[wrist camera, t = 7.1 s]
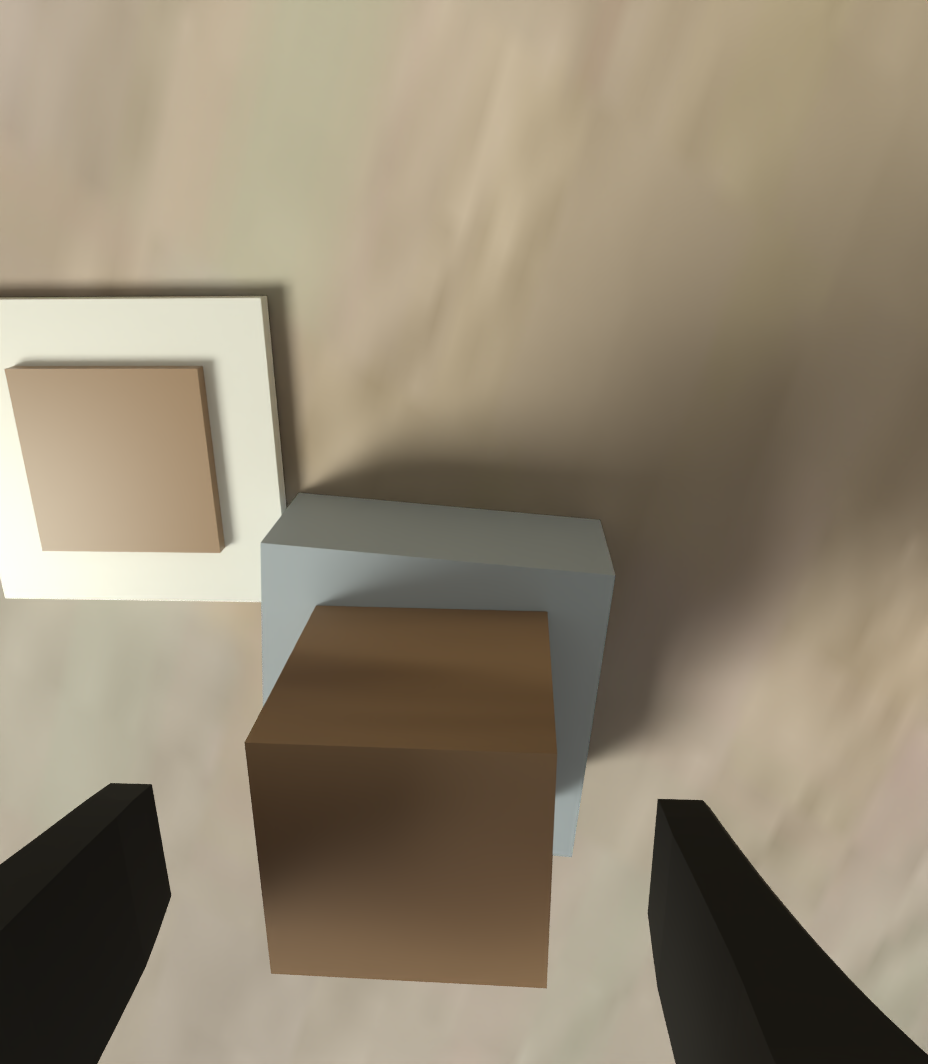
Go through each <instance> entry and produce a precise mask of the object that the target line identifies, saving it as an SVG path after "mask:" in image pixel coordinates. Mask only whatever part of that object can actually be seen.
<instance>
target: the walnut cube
mask: <svg viewBox="0 0 928 1064" xmlns="http://www.w3.org/2000/svg"><path fill="white" fill-rule="evenodd" d="M245 750H246V758H247V767H248V776H249V784H250V793H251V802H252V810H253V819H254V828H255V837H256V845H257V854H258V863H259V871H260V880H261V889H262V897H263V906H264V915H265V923H266V932H267V941H268V950H269V958H270V967H271V974H289V975H308V976H327V977H346V978H365V979H383V980H402V981H421V982H440V983H459V984H477V985H496V986H515V987H534V988H547V967H548V945H549V923H550V902H551V880H552V858H553V836H554V814H555V792H556V770H557V743H556V729H555V714H554V699H553V685H552V670H551V656H550V641H549V627H548V612H546V611H508V610H469V609H431V608H393V607H355V606H317V605H316V606H315V608H314V610H313V612H312V614H311V616H310V618H309V620H308V622H307V624H306V626H305V628H304V629H303V631H302V633H301V635H300V637H299V639H298V641H297V643H296V645H295V647H294V649H293V651H292V653H291V654H290V656H289V658H288V660H287V662H286V664H285V666H284V668H283V670H282V672H281V674H280V676H279V678H278V679H277V681H276V683H275V685H274V687H273V689H272V691H271V693H270V695H269V697H268V699H267V701H266V703H265V704H264V706H263V708H262V710H261V712H260V714H259V716H258V718H257V720H256V722H255V724H254V726H253V728H252V729H251V731H250V733H249V735H248V737H247V739H246V741H245Z"/></svg>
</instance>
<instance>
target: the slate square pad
mask: <svg viewBox="0 0 928 1064" xmlns="http://www.w3.org/2000/svg"><path fill="white" fill-rule="evenodd" d="M260 547H261V610H262V672H263V706H264V704H265V703H266V701H267V699H268V697H269V695H270V693H271V691H272V689H273V687H274V685H275V683H276V681H277V679H278V678H279V676H280V674H281V672H282V670H283V668H284V666H285V664H286V662H287V660H288V658H289V656H290V654H291V653H292V651H293V649H294V647H295V645H296V643H297V641H298V639H299V637H300V635H301V633H302V631H303V629H304V628H305V626H306V624H307V622H308V620H309V618H310V616H311V614H312V612H313V610H314V608H315V606H316V605H317V606H355V607H393V608H431V609H469V610H508V611H546V612H548V627H549V641H550V656H551V670H552V685H553V699H554V714H555V729H556V743H557V770H556V792H555V814H554V836H553V855H554V856H564V857H572V852H573V846H574V839H575V833H576V826H577V820H578V813H579V807H580V801H581V794H582V788H583V781H584V775H585V768H586V762H587V755H588V749H589V743H590V736H591V730H592V723H593V717H594V710H595V704H596V697H597V691H598V685H599V678H600V672H601V665H602V659H603V652H604V646H605V639H606V633H607V627H608V620H609V614H610V607H611V601H612V594H613V588H614V582H615V572H614V568H613V565H612V561H611V557H610V554H609V550H608V547H607V543H606V539H605V536H604V532H603V529H602V525H601V521H600V520H597V519H586V518H574V517H563V516H552V515H541V514H530V513H519V512H508V511H497V510H486V509H475V508H463V507H452V506H441V505H430V504H419V503H408V502H397V501H386V500H375V499H364V498H352V497H341V496H330V495H319V494H308V493H298V494H297V496H296V497H295V498H294V500H293V501H292V502H291V504H290V505H289V506H288V507H287V509H286V510H285V511H284V513H283V514H282V515H281V517H280V518H279V519H278V521H277V522H276V523H275V524H274V526H273V527H272V528H271V530H270V531H269V532H268V534H267V535H266V536H265V538H264V539H263V540H262V542H261V543H260Z"/></svg>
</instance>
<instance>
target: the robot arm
mask: <svg viewBox="0 0 928 1064" xmlns="http://www.w3.org/2000/svg"><path fill="white" fill-rule="evenodd" d="M170 898H171V892H170V886H169V880H168V874H167V869H166V863H165V857H164V852H163V846H162V840H161V834H160V829H159V823H158V817H157V812H156V806H155V800H154V794H153V789H152V784H121V783H110V784H109V785H107V786H106V787H105V788H103V789H102V790H100V791H99V792H97V793H96V794H94V795H93V796H92V797H90V798H89V799H87V800H86V801H85V802H83V803H82V804H81V805H79V806H78V807H77V808H75V809H74V810H73V811H71V812H70V813H69V814H67V815H66V816H65V817H63V818H62V819H61V820H59V821H58V822H57V823H55V824H54V825H53V826H51V827H50V828H49V829H47V830H46V831H45V832H43V833H42V834H41V835H39V836H38V837H37V838H35V839H34V840H33V841H31V842H30V843H29V844H27V845H26V846H25V847H23V848H22V849H21V850H19V851H18V852H17V853H15V854H14V855H13V856H11V857H10V858H8V859H7V860H6V861H4V862H3V863H2V864H0V1064H97V1063H98V1061H99V1059H100V1057H101V1055H102V1053H103V1051H104V1049H105V1047H106V1045H107V1044H108V1042H109V1040H110V1038H111V1036H112V1034H113V1032H114V1030H115V1028H116V1026H117V1024H118V1022H119V1020H120V1018H121V1016H122V1014H123V1012H124V1010H125V1008H126V1006H127V1004H128V1002H129V1000H130V998H131V996H132V994H133V992H134V990H135V988H136V986H137V984H138V982H139V979H140V977H141V975H142V973H143V971H144V969H145V967H146V965H147V962H148V959H149V957H150V954H151V951H152V949H153V946H154V943H155V941H156V938H157V935H158V933H159V930H160V927H161V924H162V921H163V918H164V915H165V912H166V909H167V907H168V904H169V901H170ZM648 919H649V927H650V935H651V943H652V950H653V958H654V965H655V972H656V980H657V987H658V992H659V996H660V1000H661V1004H662V1009H663V1013H664V1017H665V1021H666V1025H667V1030H668V1034H669V1038H670V1042H671V1046H672V1050H673V1054H674V1059H675V1063H676V1064H928V1055H927V1054H926V1053H925V1052H924V1051H923V1050H922V1049H921V1048H920V1047H918V1046H917V1045H916V1044H915V1043H914V1042H913V1041H912V1040H911V1039H910V1038H909V1037H908V1036H907V1035H906V1034H905V1033H904V1032H903V1031H902V1030H900V1029H899V1028H898V1027H897V1026H896V1025H895V1024H894V1023H893V1022H892V1021H891V1020H890V1019H889V1018H888V1017H887V1016H886V1015H885V1014H884V1013H883V1012H882V1011H881V1010H880V1009H879V1008H878V1007H877V1006H876V1005H875V1004H874V1003H873V1002H872V1001H871V1000H870V999H869V998H868V997H867V996H866V995H865V994H864V993H863V992H862V991H861V990H860V989H859V988H858V987H857V986H856V985H855V984H854V983H853V982H852V981H851V980H850V979H849V978H848V977H847V975H846V974H845V973H844V972H843V971H842V970H841V969H840V968H839V967H838V966H837V965H836V964H835V963H834V961H833V960H832V959H831V958H830V957H829V956H828V955H827V954H826V953H825V952H824V951H823V950H822V948H821V947H820V946H819V945H818V944H817V943H816V942H815V940H814V939H813V938H812V937H811V936H810V935H809V934H808V933H807V931H806V930H805V929H804V928H803V927H802V926H801V924H800V923H799V922H798V921H797V920H796V918H795V917H794V916H793V915H792V914H791V912H790V911H789V910H788V909H787V908H786V906H785V905H784V904H783V903H782V902H781V901H780V899H779V898H778V897H777V896H776V895H775V893H774V892H773V891H772V890H771V888H770V887H769V886H768V885H767V883H766V882H765V881H764V880H763V878H762V877H761V876H760V875H759V873H758V872H757V871H756V870H755V868H754V867H753V866H752V864H751V863H750V862H749V860H748V859H747V858H746V857H745V855H744V854H743V853H742V851H741V850H740V849H739V847H738V846H737V845H736V843H735V842H734V841H733V839H732V838H731V837H730V835H729V834H728V832H727V831H726V830H725V828H724V827H723V826H722V824H721V823H720V821H719V820H718V819H717V817H716V816H715V814H714V813H713V812H712V810H711V809H710V808H709V806H708V805H707V804H706V803H705V802H704V801H703V800H676V799H658V803H657V815H656V826H655V837H654V849H653V860H652V871H651V883H650V894H649V906H648Z"/></svg>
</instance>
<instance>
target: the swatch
mask: <svg viewBox="0 0 928 1064" xmlns="http://www.w3.org/2000/svg"><path fill="white" fill-rule="evenodd" d="M286 509H287V507H286V496H285V485H284V475H283V464H282V453H281V442H280V432H279V421H278V410H277V399H276V389H275V378H274V367H273V356H272V345H271V335H270V324H269V313H268V302H267V296H168V297H8V298H0V578H1V582H2V586H3V591H4V595H5V598H26V599H91V600H156V601H222V602H261V547H260V543H261V542H262V540H263V539H264V538H265V536H266V535H267V534H268V532H269V531H270V530H271V528H272V527H273V526H274V524H275V523H276V522H277V521H278V519H279V518H280V517H281V515H282V514H283V513H284V511H285V510H286Z"/></svg>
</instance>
